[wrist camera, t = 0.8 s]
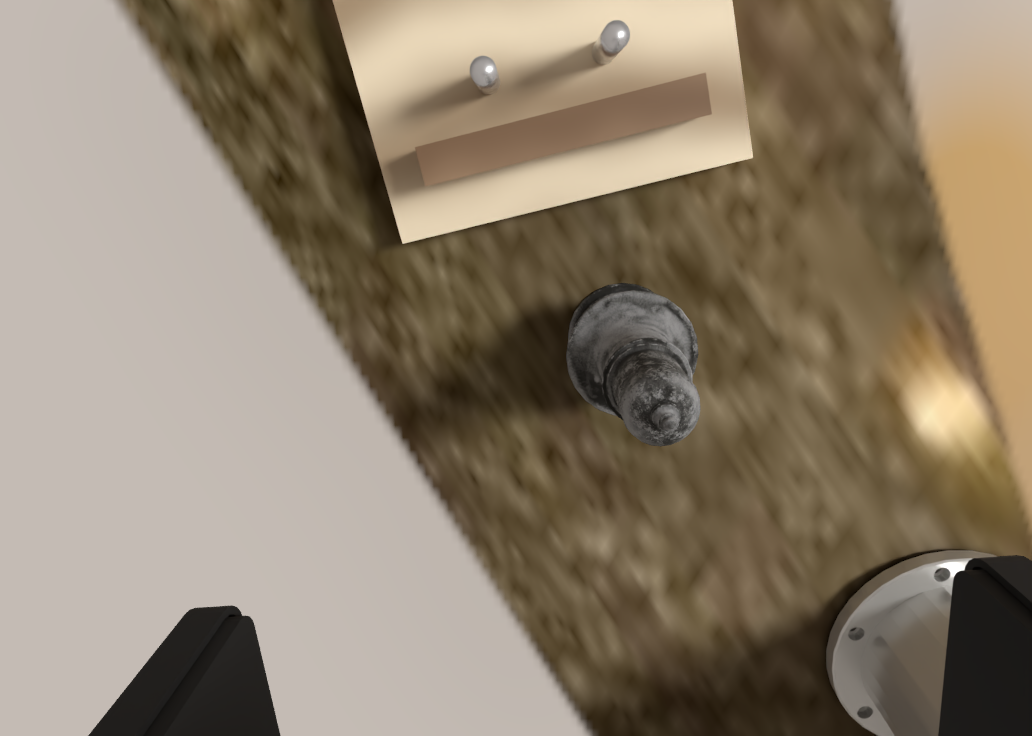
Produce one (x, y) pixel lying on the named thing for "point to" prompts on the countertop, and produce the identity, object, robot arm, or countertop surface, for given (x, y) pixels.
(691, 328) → the weathered chess pawn
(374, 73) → the pin stand
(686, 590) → the countertop surface
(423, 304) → the countertop surface
